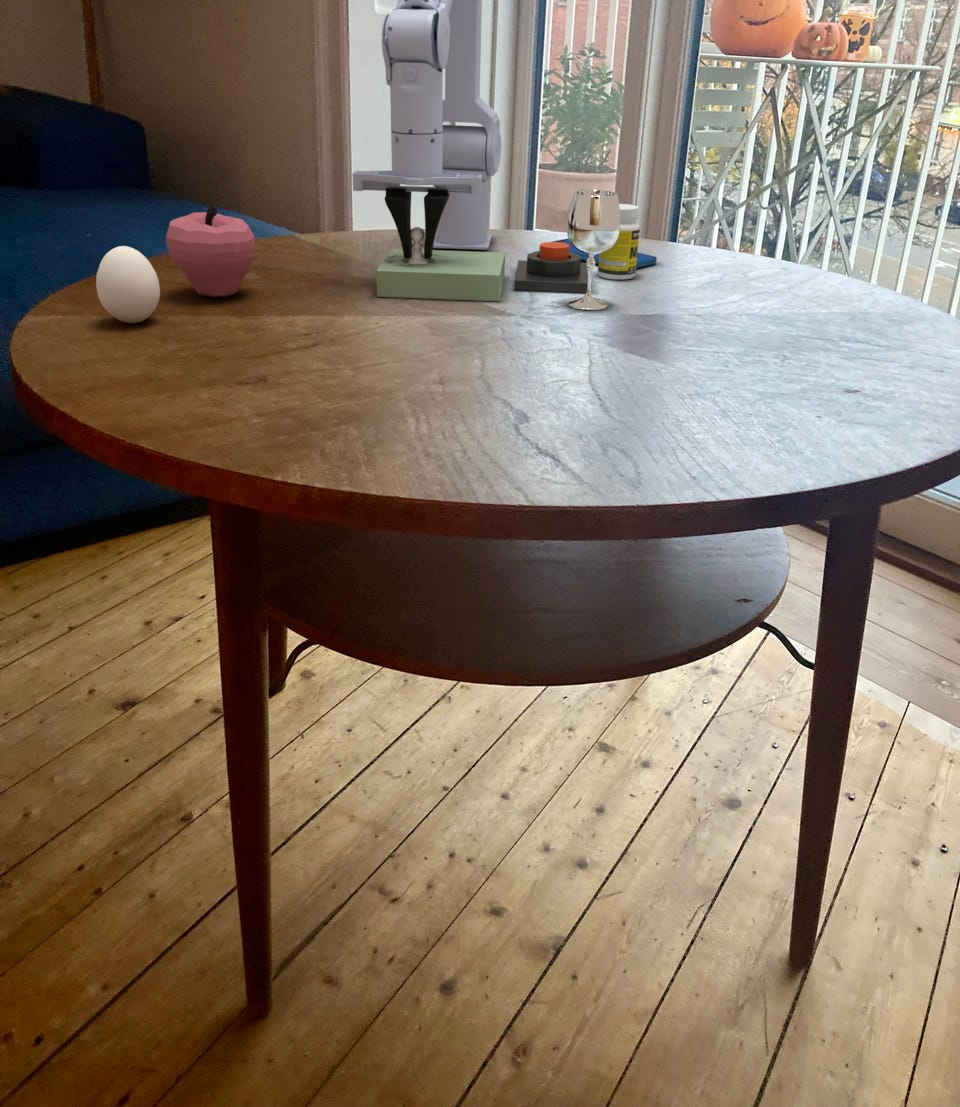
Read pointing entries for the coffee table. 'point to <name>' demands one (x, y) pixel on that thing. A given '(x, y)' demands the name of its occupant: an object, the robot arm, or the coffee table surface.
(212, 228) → the apple
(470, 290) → the pod holder
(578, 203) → the wineglass
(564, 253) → the button
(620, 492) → the coffee table surface
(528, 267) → the panel
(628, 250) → the supplement bottle
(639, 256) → the smartphone
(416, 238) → the chess pawn
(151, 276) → the egg
